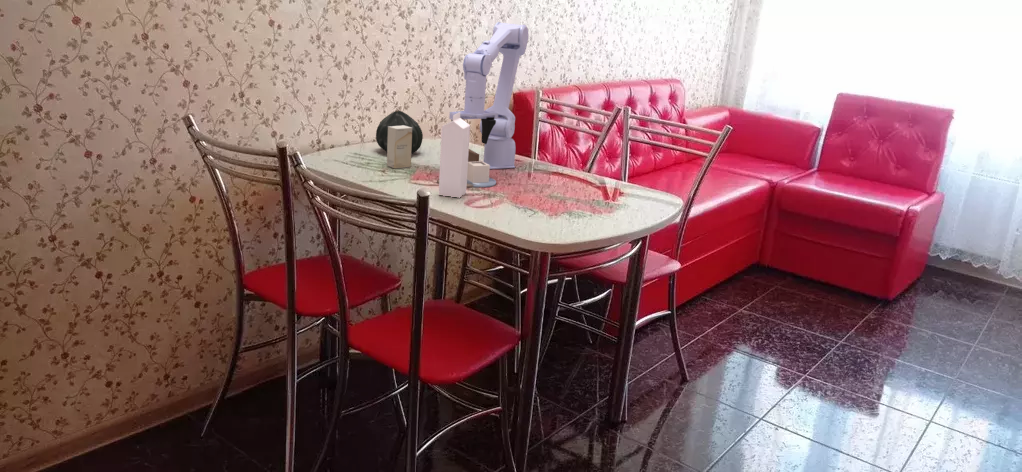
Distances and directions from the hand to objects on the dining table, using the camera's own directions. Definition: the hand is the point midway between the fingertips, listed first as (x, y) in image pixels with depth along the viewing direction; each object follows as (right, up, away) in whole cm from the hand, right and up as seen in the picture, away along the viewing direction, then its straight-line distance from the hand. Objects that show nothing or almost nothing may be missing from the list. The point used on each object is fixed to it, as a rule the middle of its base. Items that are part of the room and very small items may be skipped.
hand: (472, 143), depth 216 cm
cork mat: (-4, -12, -5) cm, 14 cm away
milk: (-5, -16, -15) cm, 22 cm away
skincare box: (-23, -6, +10) cm, 26 cm away
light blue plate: (+1, -11, -1) cm, 11 cm away
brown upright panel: (-2, -8, +9) cm, 12 cm away
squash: (-25, 0, +27) cm, 37 cm away
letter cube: (+1, -11, -1) cm, 11 cm away
